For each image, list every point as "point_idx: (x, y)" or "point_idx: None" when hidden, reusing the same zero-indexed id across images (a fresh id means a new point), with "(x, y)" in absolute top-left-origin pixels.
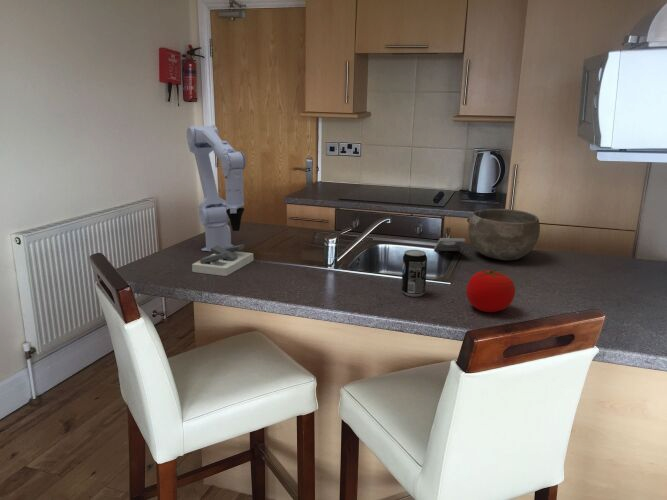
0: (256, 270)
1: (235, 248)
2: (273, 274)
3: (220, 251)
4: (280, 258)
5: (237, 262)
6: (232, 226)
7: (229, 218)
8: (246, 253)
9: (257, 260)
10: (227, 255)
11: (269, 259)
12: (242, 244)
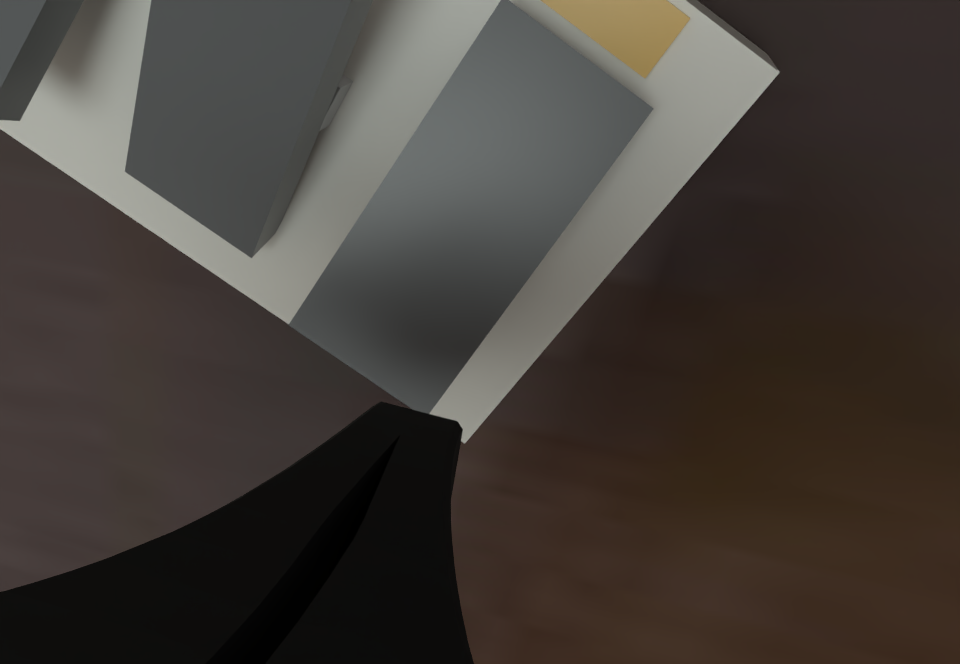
0: (150, 351)
1: (325, 274)
2: (46, 449)
3: (181, 28)
4: (498, 619)
5: (131, 212)
6: (327, 455)
7: (144, 543)
8: (474, 375)
9: (479, 431)
10: (9, 116)
11: (488, 535)
12: (421, 399)
